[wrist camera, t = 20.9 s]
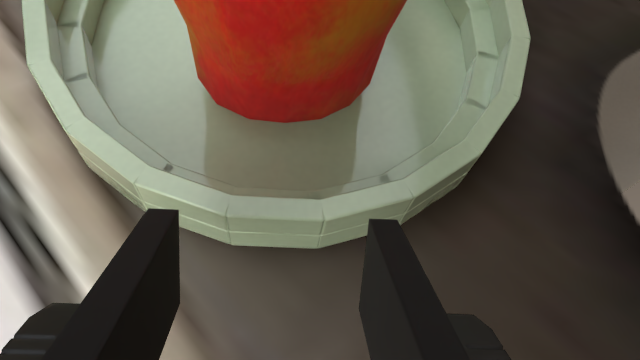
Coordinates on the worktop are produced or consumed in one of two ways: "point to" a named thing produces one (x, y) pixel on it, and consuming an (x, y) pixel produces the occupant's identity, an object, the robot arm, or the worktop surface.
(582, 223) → the worktop surface
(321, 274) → the worktop surface
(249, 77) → the apple
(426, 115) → the bowl
